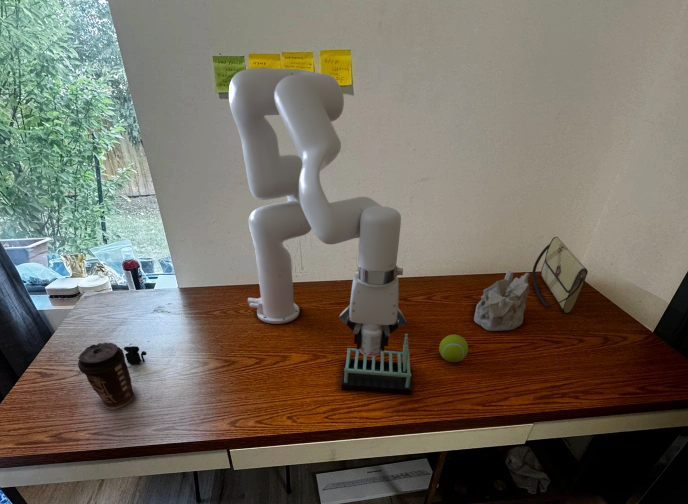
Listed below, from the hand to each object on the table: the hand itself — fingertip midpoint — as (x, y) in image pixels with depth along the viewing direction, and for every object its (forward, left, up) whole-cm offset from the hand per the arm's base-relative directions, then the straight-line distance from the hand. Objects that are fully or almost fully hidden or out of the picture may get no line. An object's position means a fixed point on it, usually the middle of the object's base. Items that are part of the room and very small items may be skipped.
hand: (370, 346), depth 90 cm
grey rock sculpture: (+37, +34, -10) cm, 51 cm away
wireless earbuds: (-58, -1, -10) cm, 59 cm away
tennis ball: (+21, +10, -10) cm, 25 cm away
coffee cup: (-55, -14, -10) cm, 58 cm away
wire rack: (+2, 0, -9) cm, 10 cm away
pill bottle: (0, 0, -2) cm, 2 cm away
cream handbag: (+58, +51, -10) cm, 78 cm away
